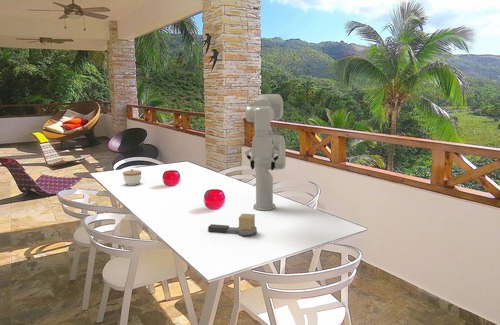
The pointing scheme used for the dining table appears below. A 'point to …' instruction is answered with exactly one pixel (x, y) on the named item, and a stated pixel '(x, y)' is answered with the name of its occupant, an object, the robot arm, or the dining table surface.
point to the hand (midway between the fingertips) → (262, 169)
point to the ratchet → (231, 230)
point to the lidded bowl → (132, 177)
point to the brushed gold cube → (247, 222)
